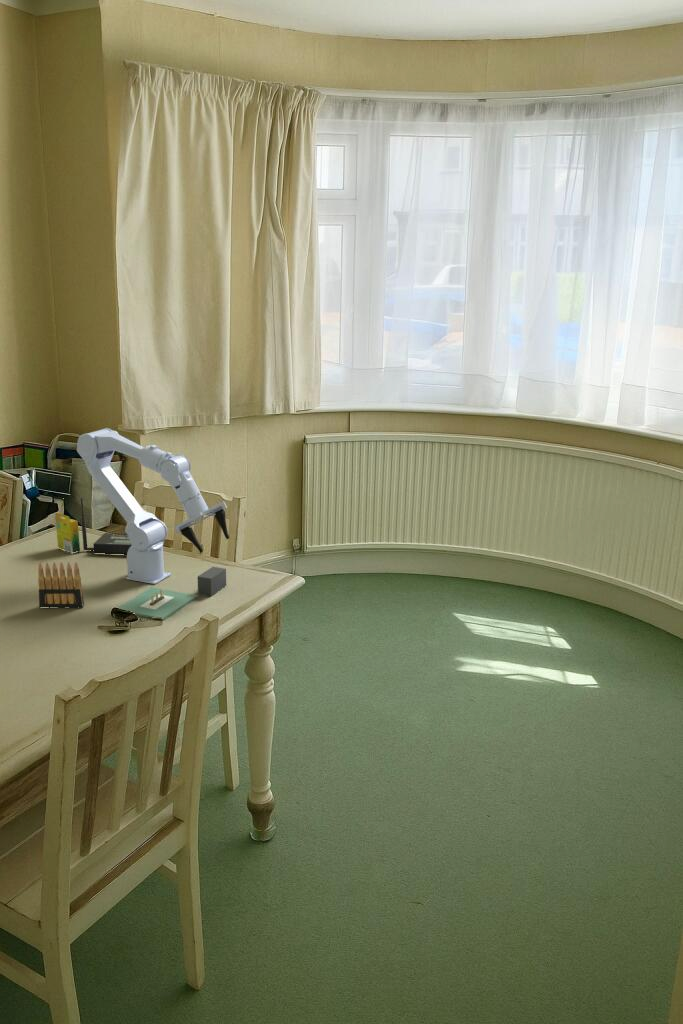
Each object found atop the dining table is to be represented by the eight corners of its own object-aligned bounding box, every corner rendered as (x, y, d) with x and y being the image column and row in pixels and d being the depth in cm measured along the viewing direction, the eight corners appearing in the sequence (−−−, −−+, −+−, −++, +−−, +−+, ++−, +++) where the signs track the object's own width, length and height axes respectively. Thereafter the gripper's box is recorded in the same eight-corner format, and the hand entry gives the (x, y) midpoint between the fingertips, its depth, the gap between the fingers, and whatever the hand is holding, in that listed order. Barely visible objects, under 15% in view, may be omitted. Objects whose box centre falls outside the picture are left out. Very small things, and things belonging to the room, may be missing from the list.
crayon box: (80, 552, 254) (77, 514, 251) (72, 554, 252) (69, 517, 248) (66, 546, 258) (63, 510, 255) (57, 549, 256) (54, 512, 253)
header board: (115, 611, 213) (114, 599, 212) (151, 589, 227) (151, 578, 226) (163, 620, 208) (162, 608, 207) (197, 597, 222) (197, 586, 221)
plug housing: (198, 594, 224) (197, 576, 223) (213, 583, 231) (212, 566, 230) (211, 596, 223) (210, 578, 221) (226, 586, 230) (225, 568, 228)
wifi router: (158, 544, 263) (155, 491, 258) (145, 559, 250) (142, 503, 245) (94, 542, 264) (90, 489, 259) (78, 557, 251) (74, 501, 246)
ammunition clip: (39, 608, 214) (35, 563, 210) (41, 605, 215) (37, 561, 212) (82, 608, 214) (78, 563, 211) (84, 605, 216) (80, 560, 213)
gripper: (163, 512, 218) (188, 559, 219) (214, 486, 219) (238, 533, 219) (168, 511, 225) (191, 556, 226) (217, 486, 226) (240, 531, 226)
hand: (215, 545), depth 223 cm, fingers open, 7 cm apart
